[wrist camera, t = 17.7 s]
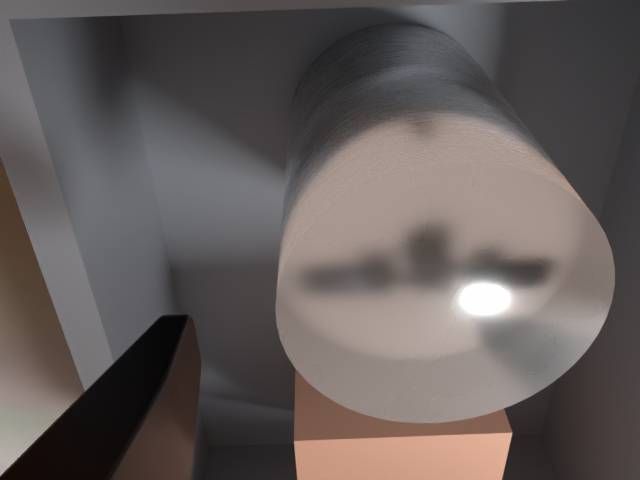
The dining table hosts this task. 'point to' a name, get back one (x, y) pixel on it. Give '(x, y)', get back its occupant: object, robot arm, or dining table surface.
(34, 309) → the dining table surface
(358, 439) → the terracotta cube
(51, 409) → the dining table surface
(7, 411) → the dining table surface
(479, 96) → the aluminium cylinder
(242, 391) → the tote
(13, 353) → the dining table surface
